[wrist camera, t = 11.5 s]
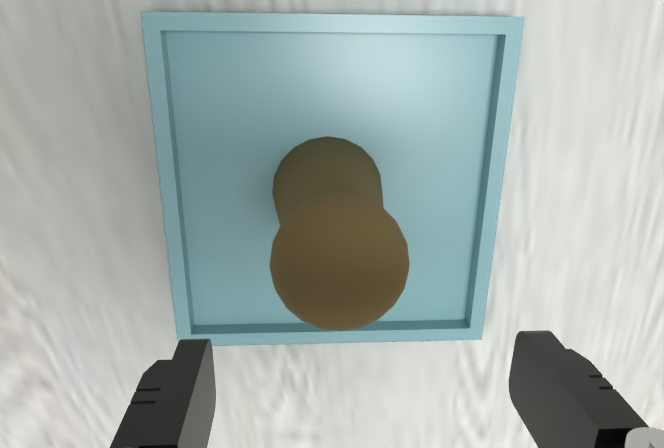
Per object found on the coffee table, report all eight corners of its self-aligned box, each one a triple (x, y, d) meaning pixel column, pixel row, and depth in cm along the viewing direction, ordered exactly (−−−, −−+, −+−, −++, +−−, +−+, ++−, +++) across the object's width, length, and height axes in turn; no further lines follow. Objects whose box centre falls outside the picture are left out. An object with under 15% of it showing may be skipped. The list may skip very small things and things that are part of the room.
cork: (398, 155, 27) (457, 228, 17) (361, 254, 29) (394, 374, 19) (289, 121, 26) (282, 176, 16) (259, 225, 28) (234, 335, 18)
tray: (184, 329, 31) (178, 346, 29) (151, 13, 25) (140, 11, 23) (472, 323, 32) (481, 339, 30) (509, 18, 26) (524, 16, 24)
